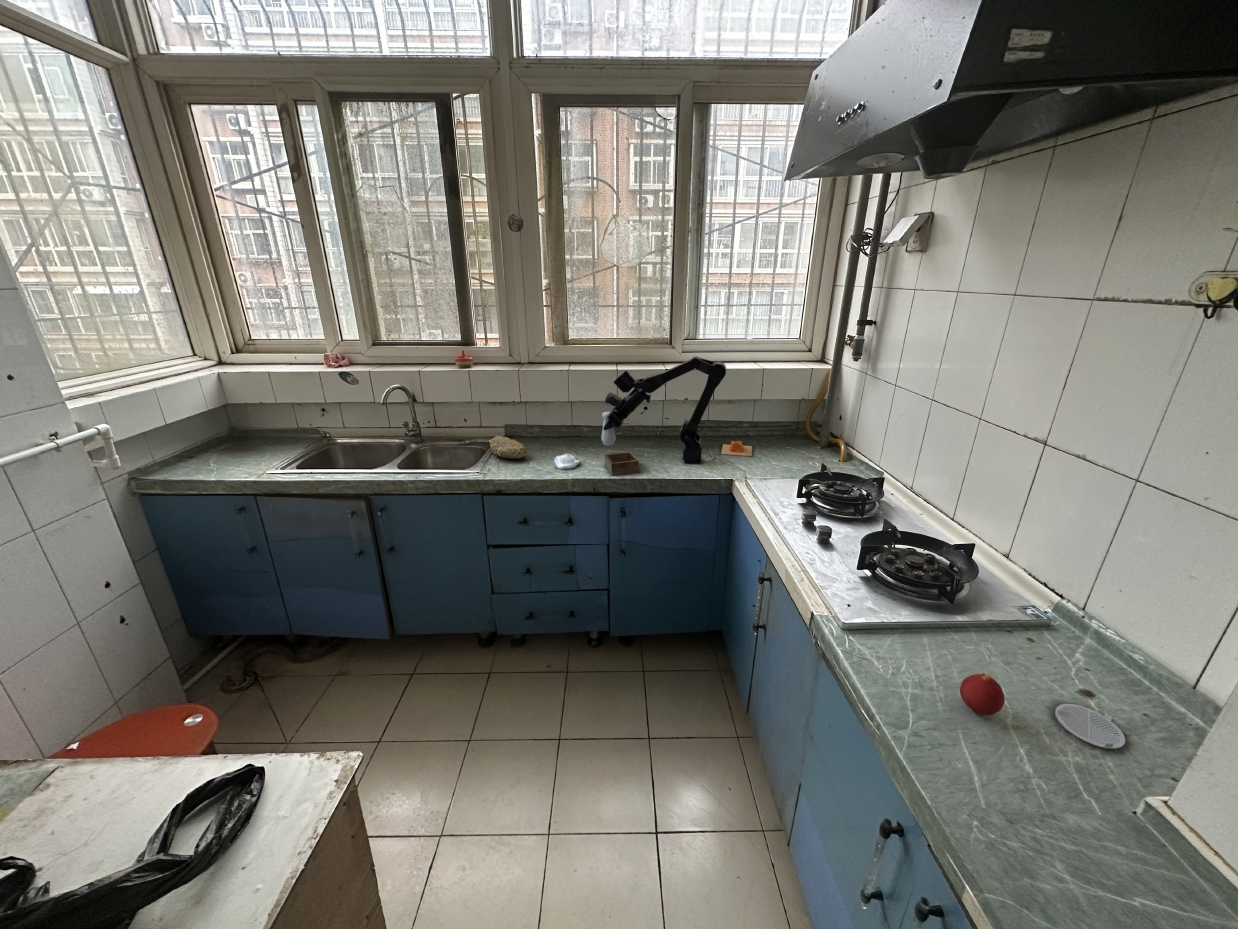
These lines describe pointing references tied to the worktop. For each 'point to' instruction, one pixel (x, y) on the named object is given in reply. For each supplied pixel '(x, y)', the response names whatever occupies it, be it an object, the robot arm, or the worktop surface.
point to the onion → (982, 694)
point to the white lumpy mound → (566, 461)
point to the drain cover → (1090, 726)
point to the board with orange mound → (737, 449)
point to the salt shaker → (607, 432)
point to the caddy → (621, 463)
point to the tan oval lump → (507, 448)
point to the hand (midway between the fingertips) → (604, 428)
